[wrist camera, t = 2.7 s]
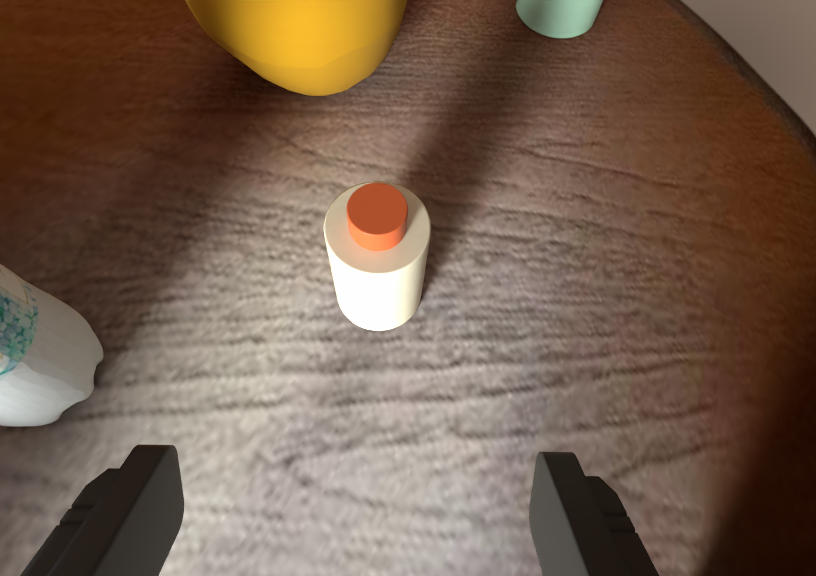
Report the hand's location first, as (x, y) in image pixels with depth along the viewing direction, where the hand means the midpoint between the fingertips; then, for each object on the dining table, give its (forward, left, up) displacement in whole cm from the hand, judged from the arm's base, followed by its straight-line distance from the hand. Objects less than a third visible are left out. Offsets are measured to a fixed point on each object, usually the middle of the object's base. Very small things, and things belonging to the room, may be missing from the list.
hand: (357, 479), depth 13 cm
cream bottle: (+5, -10, -16) cm, 20 cm away
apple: (+17, -23, -16) cm, 33 cm away
